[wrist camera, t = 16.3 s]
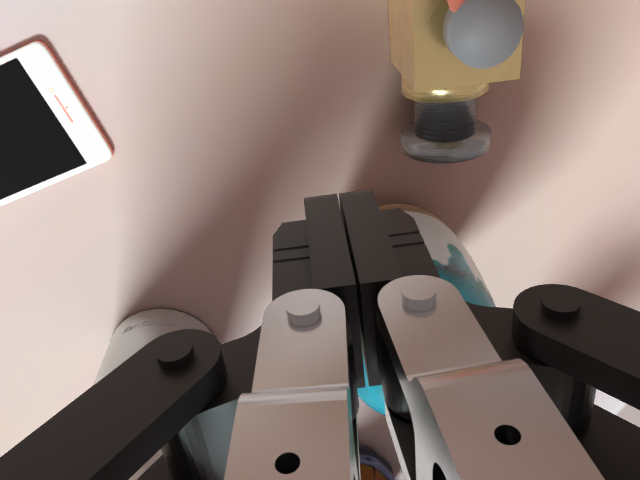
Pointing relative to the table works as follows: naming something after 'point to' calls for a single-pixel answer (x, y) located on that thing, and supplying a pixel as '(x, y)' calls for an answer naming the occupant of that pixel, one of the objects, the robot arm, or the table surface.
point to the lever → (482, 31)
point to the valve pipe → (441, 84)
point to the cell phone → (42, 124)
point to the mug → (373, 466)
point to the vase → (450, 267)
